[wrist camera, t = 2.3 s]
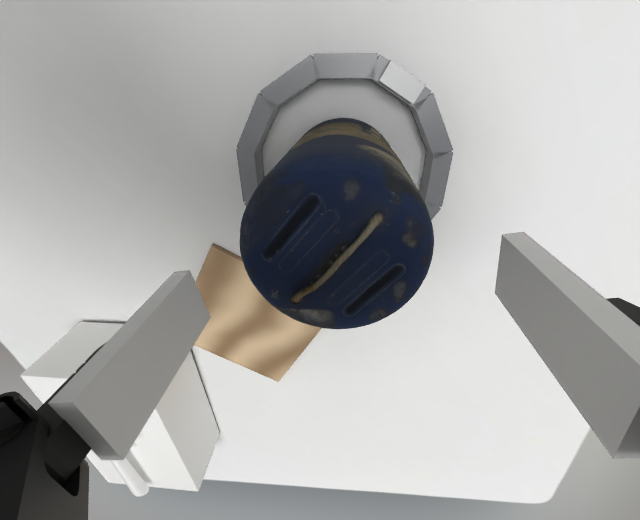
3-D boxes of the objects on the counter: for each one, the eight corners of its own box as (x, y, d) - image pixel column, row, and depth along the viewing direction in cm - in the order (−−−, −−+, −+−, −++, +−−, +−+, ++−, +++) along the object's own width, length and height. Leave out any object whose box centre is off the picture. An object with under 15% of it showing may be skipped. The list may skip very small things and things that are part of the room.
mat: (174, 332, 41) (172, 335, 40) (213, 243, 33) (211, 245, 33) (279, 378, 44) (278, 381, 43) (336, 306, 36) (336, 309, 36)
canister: (412, 183, 28) (489, 301, 13) (330, 235, 32) (313, 378, 16) (355, 90, 25) (368, 98, 9) (271, 159, 28) (178, 249, 13)
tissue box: (181, 326, 39) (128, 403, 30) (219, 433, 52) (191, 510, 43) (79, 321, 41) (-1, 394, 31) (141, 427, 54) (97, 500, 44)
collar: (220, 201, 31) (206, 214, 28) (302, 3, 22) (295, -10, 19) (366, 281, 34) (368, 300, 31) (486, 135, 26) (504, 142, 23)
